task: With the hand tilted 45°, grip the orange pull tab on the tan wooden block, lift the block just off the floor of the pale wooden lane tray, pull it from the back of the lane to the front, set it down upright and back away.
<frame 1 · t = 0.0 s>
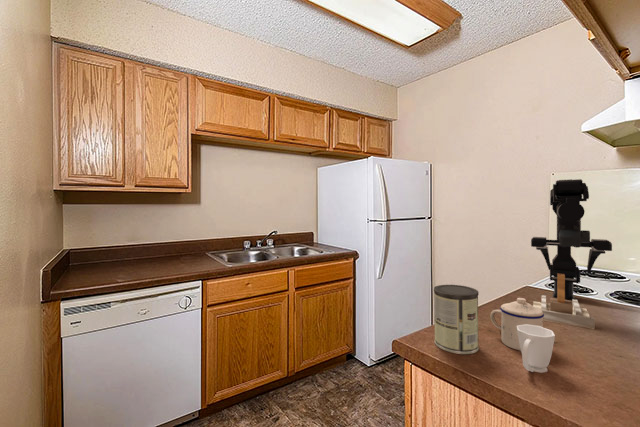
hand: (568, 271, 93), 15 cm above the worktop, tool pointing down, fingers open, 9 cm apart
tan wooden block: (560, 318, 90), point 1 cm above the worktop, touching lane tray
lane tray: (560, 318, 94), on the worktop
coffee can: (455, 345, 76), on the worktop
teacup with lid: (515, 343, 77), on the worktop
cup: (532, 370, 64), on the worktop
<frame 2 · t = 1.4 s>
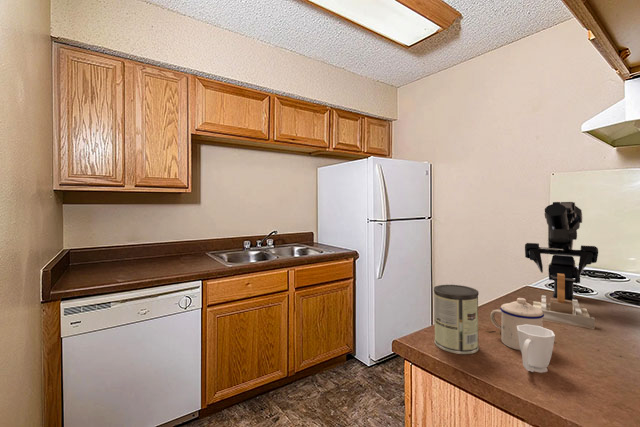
hand: (559, 273, 95), 13 cm above the worktop, tool tilted 45°, fingers open, 9 cm apart
nothing on the worktop moved.
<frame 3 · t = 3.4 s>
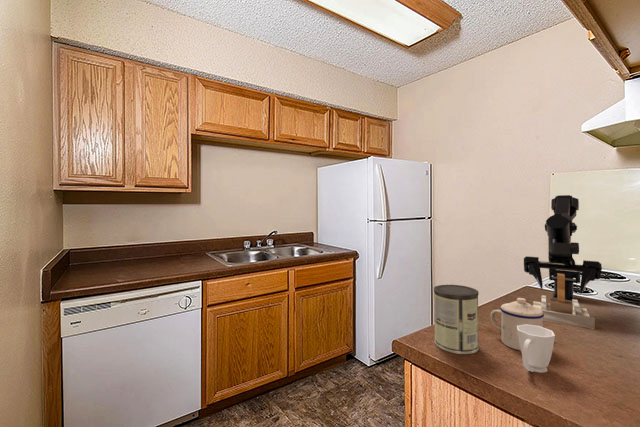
hand: (560, 290, 90), 10 cm above the worktop, tool tilted 45°, fingers open, 9 cm apart
nothing on the worktop moved.
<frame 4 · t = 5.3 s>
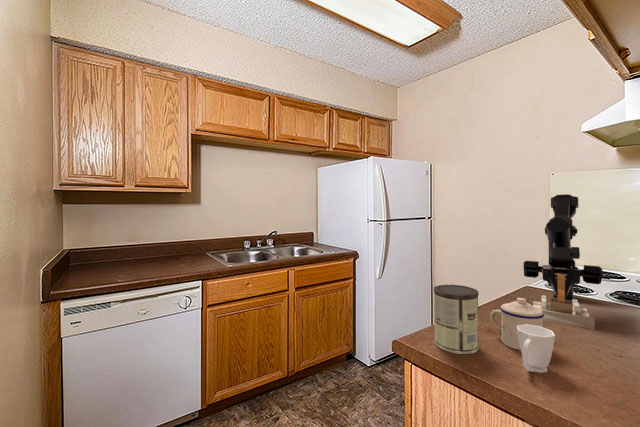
hand: (561, 295, 88), 9 cm above the worktop, tool tilted 45°, fingers closed on tan wooden block
tan wooden block: (560, 318, 90), point 1 cm above the worktop, touching gripper, lane tray
everything else where it was.
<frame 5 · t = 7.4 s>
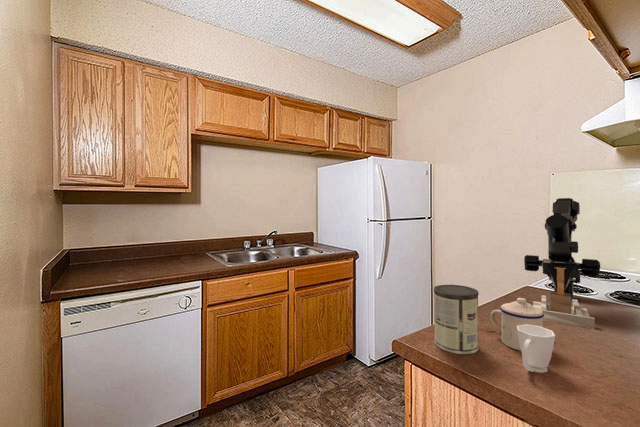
hand: (560, 288, 92), 10 cm above the worktop, tool tilted 45°, fingers closed on tan wooden block
tan wooden block: (560, 310, 93), point 2 cm above the worktop, touching gripper
everything else where it was.
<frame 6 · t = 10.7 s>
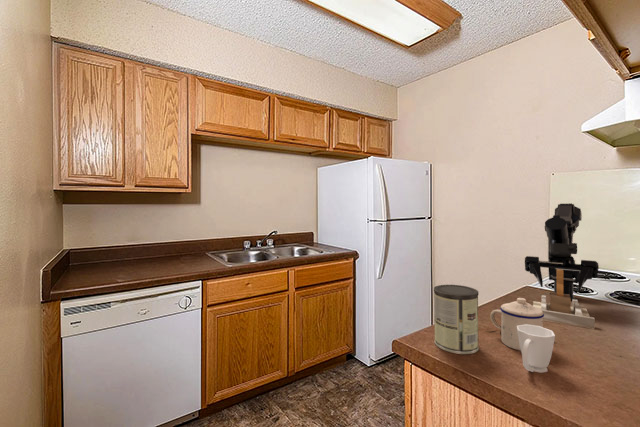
hand: (560, 288, 95), 9 cm above the worktop, tool tilted 45°, fingers open, 9 cm apart
tan wooden block: (559, 310, 96), point 1 cm above the worktop, touching lane tray
everything else where it was.
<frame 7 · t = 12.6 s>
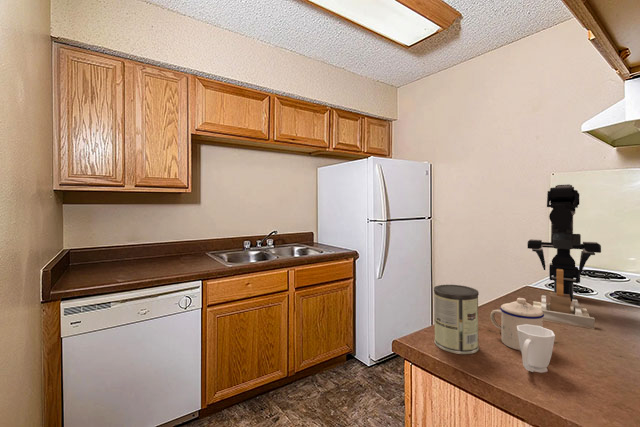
hand: (561, 271, 101), 13 cm above the worktop, tool pointing down, fingers open, 9 cm apart
nothing on the worktop moved.
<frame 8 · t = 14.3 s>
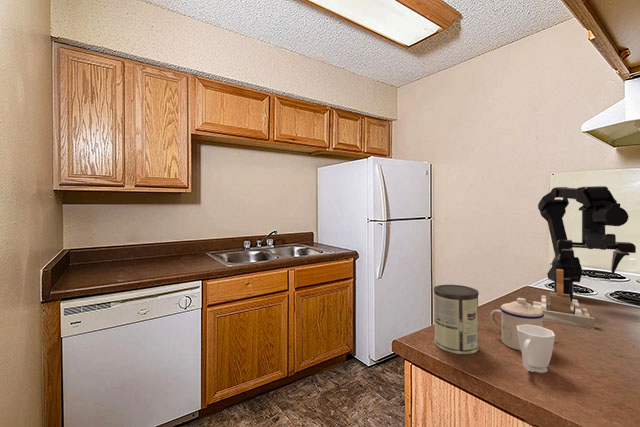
hand: (593, 271, 99), 13 cm above the worktop, tool pointing down, fingers open, 9 cm apart
nothing on the worktop moved.
at the end: tan wooden block 0.1 cm from the target spot, point 1.5 cm above the worktop; tan wooden block tilted 0°; the gripper is holding nothing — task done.
